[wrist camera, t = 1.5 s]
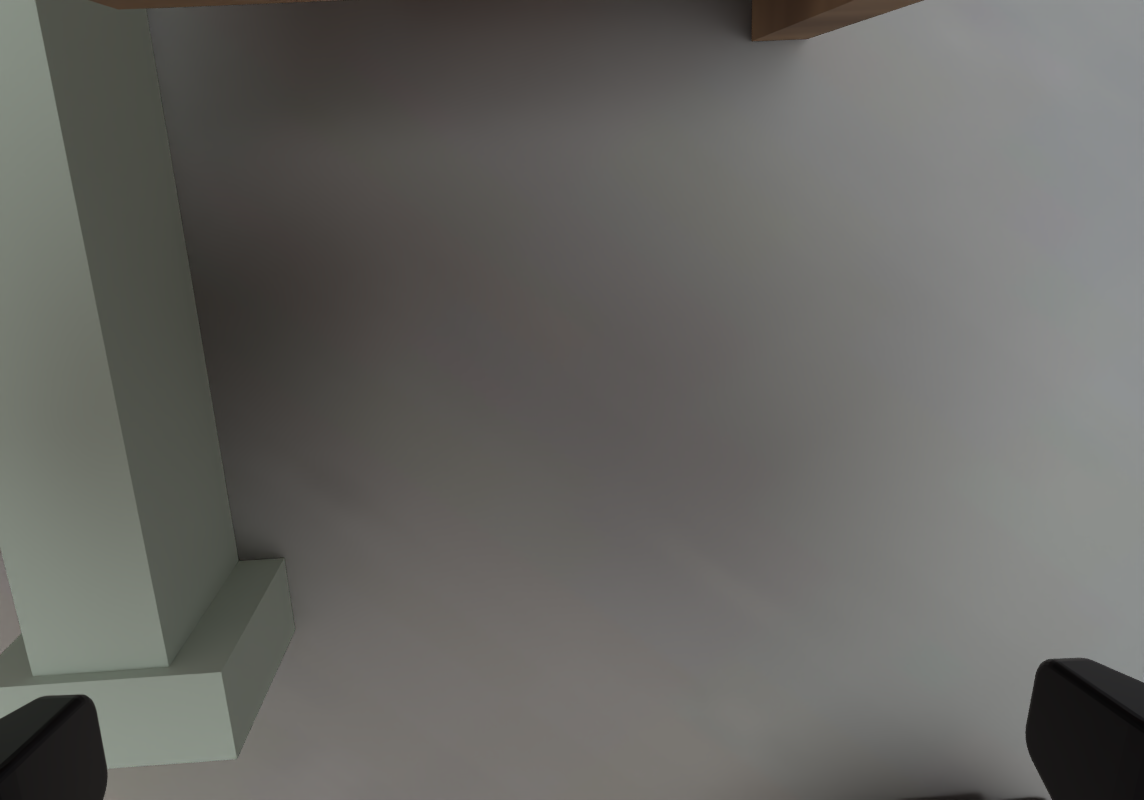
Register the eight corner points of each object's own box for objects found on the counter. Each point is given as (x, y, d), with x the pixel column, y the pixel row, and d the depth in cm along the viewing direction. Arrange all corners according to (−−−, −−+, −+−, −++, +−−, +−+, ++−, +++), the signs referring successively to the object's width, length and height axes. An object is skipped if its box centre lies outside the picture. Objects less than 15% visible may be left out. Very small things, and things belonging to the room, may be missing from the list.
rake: (592, 609, 23) (611, 731, 18) (100, 643, 22) (-11, 777, 17) (546, -535, 16) (557, -809, 11) (-164, -528, 15) (-456, -811, 11)
